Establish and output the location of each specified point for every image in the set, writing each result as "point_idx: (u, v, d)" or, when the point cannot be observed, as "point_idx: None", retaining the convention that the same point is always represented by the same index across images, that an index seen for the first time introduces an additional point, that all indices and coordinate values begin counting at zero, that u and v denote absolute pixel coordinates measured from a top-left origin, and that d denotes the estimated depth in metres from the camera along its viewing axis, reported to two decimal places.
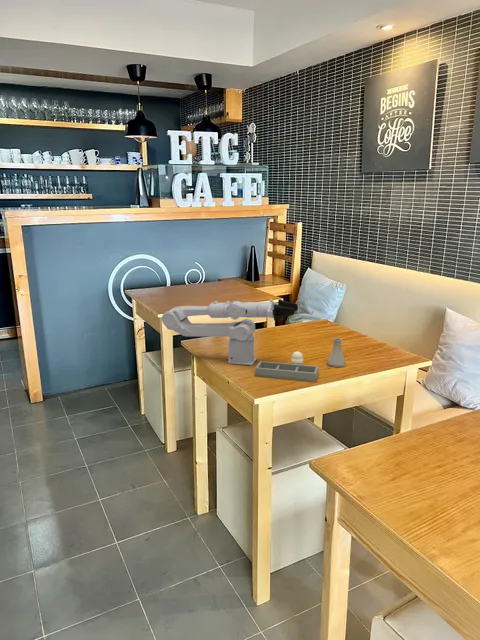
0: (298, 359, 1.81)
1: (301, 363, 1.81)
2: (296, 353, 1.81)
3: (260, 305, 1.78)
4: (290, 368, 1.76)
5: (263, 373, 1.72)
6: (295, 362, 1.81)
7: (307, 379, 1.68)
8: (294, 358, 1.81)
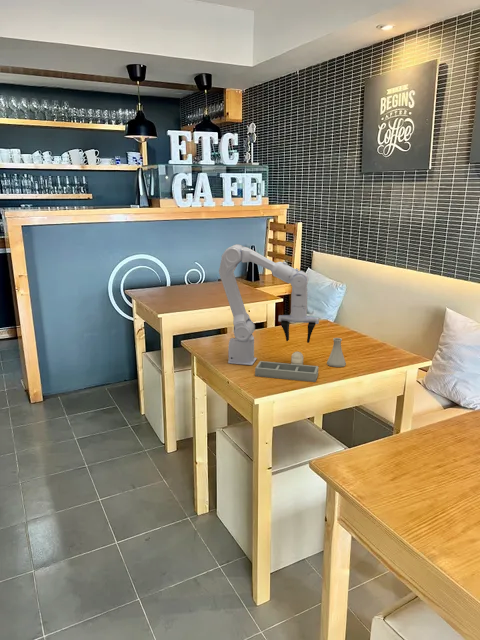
0: (298, 359, 1.81)
1: (301, 363, 1.81)
2: (296, 353, 1.81)
3: None
4: (290, 368, 1.76)
5: (263, 373, 1.72)
6: (295, 362, 1.81)
7: (307, 379, 1.68)
8: (294, 358, 1.81)
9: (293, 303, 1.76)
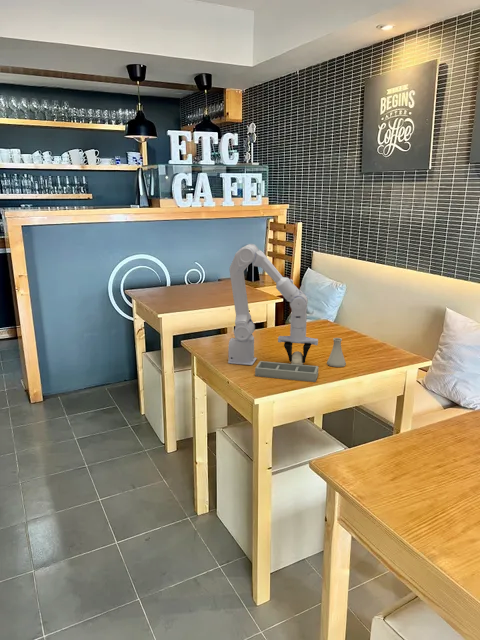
0: (298, 359, 1.80)
1: (301, 363, 1.81)
2: (296, 353, 1.81)
3: None
4: (290, 368, 1.76)
5: (263, 373, 1.72)
6: (295, 362, 1.81)
7: (307, 379, 1.68)
8: (294, 358, 1.81)
9: (292, 325, 1.78)
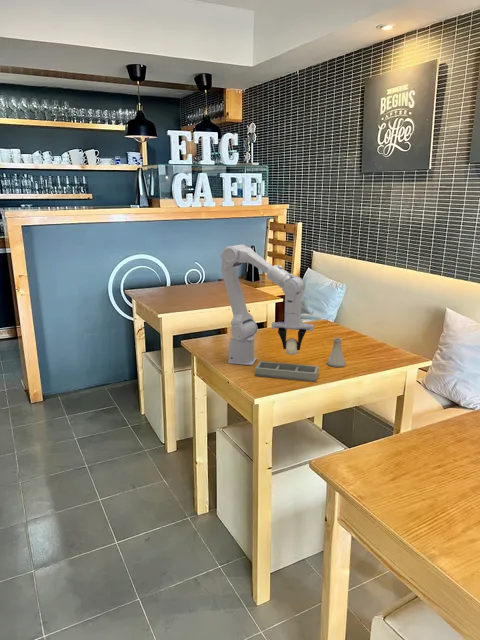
0: (293, 346, 1.73)
1: (296, 350, 1.74)
2: (291, 340, 1.74)
3: None
4: (290, 368, 1.76)
5: (263, 373, 1.72)
6: (290, 349, 1.73)
7: (307, 379, 1.68)
8: (288, 345, 1.73)
9: (285, 309, 1.71)
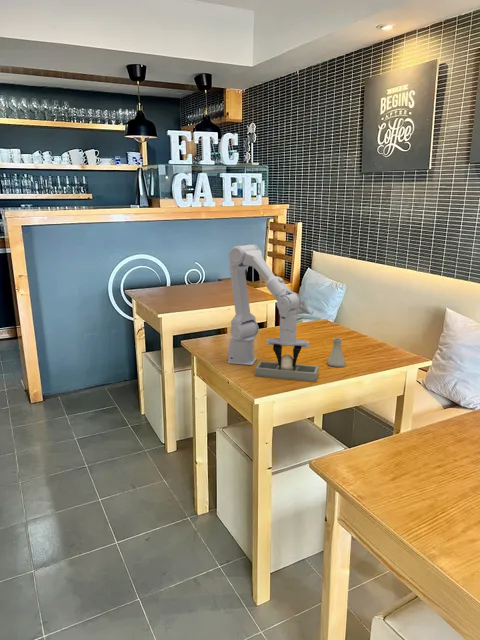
0: (288, 363, 1.70)
1: (291, 367, 1.71)
2: (286, 356, 1.71)
3: None
4: None
5: (263, 373, 1.72)
6: (285, 366, 1.71)
7: (307, 379, 1.68)
8: (284, 362, 1.71)
9: (280, 325, 1.69)
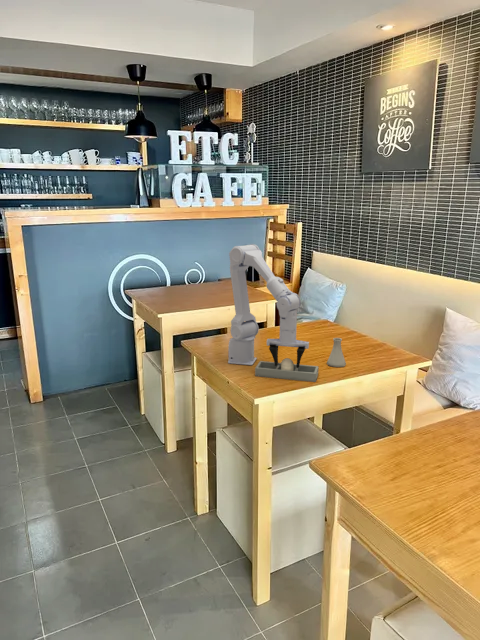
0: (288, 366, 1.70)
1: None
2: (286, 360, 1.71)
3: None
4: None
5: (263, 373, 1.72)
6: (285, 369, 1.71)
7: (307, 379, 1.68)
8: (284, 365, 1.71)
9: (280, 326, 1.69)
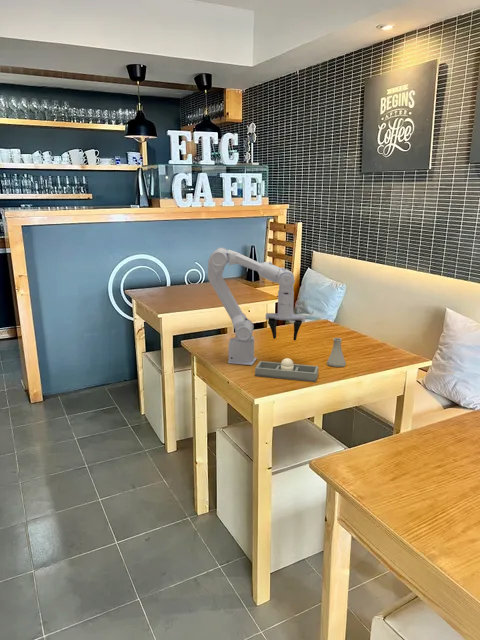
0: (288, 366, 1.70)
1: None
2: (286, 360, 1.71)
3: None
4: None
5: (263, 373, 1.72)
6: (285, 369, 1.71)
7: (307, 379, 1.68)
8: (284, 365, 1.71)
9: (280, 301, 1.78)
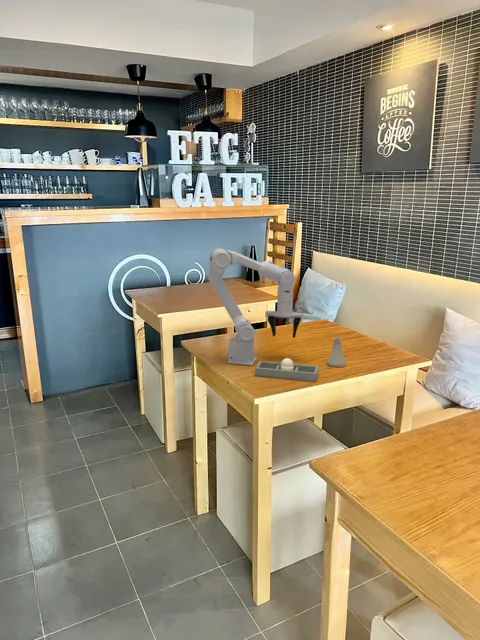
0: (288, 366, 1.70)
1: None
2: (286, 360, 1.71)
3: None
4: None
5: (263, 373, 1.72)
6: (285, 369, 1.71)
7: (307, 379, 1.68)
8: (284, 365, 1.71)
9: (281, 300, 1.81)
